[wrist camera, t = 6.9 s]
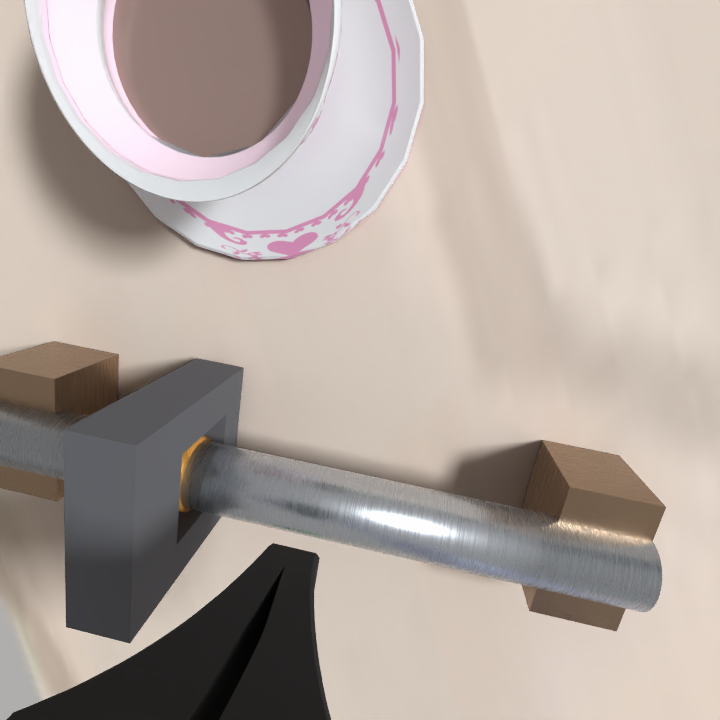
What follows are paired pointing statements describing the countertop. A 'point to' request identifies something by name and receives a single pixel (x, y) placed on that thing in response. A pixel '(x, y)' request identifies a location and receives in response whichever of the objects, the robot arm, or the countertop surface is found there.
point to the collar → (139, 495)
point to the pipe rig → (372, 498)
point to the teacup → (241, 109)
